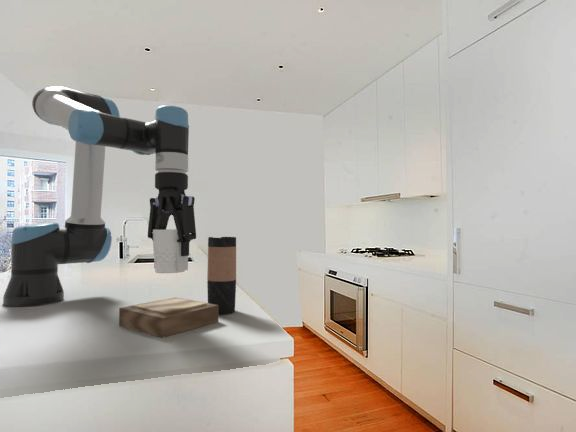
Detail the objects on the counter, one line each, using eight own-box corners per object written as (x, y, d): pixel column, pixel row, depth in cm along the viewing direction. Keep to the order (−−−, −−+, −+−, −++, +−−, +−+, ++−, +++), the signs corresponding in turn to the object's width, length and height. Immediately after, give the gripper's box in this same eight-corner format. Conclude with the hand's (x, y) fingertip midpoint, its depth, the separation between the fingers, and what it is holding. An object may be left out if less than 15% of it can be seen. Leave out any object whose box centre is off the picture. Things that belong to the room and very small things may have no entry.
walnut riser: (119, 325, 89) (119, 305, 89) (175, 312, 102) (175, 295, 102) (162, 337, 80) (162, 315, 80) (218, 321, 93) (218, 303, 93)
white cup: (168, 274, 85) (168, 229, 86) (145, 272, 90) (145, 229, 90) (194, 271, 92) (194, 229, 92) (171, 269, 96) (171, 229, 97)
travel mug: (230, 315, 99) (230, 237, 99) (202, 314, 100) (203, 237, 101) (239, 309, 106) (240, 236, 107) (213, 307, 108) (214, 236, 108)
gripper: (132, 174, 94) (131, 267, 94) (187, 167, 83) (186, 274, 82) (158, 177, 101) (157, 265, 100) (213, 171, 89) (212, 270, 88)
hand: (170, 269), depth 91 cm, fingers closed on white cup, 7 cm apart
